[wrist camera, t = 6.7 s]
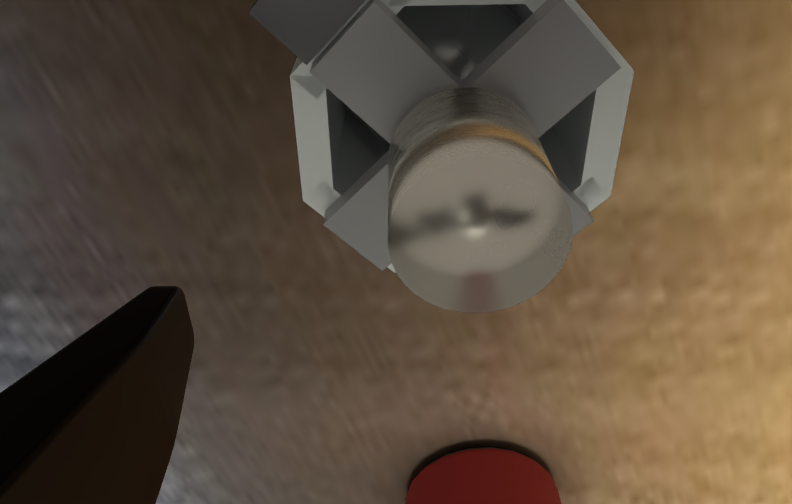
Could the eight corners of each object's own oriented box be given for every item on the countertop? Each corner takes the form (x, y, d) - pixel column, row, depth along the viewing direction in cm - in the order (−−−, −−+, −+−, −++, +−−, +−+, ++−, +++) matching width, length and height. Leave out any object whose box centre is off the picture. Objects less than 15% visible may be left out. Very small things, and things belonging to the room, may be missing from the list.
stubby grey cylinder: (321, 81, 17) (280, 243, 11) (451, -57, 15) (494, 38, 9) (443, 190, 19) (470, 384, 13) (572, 78, 17) (680, 237, 11)
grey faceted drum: (225, 32, 18) (163, 117, 13) (412, -196, 15) (422, -199, 10) (438, 216, 21) (452, 340, 16) (624, 56, 19) (710, 147, 14)
